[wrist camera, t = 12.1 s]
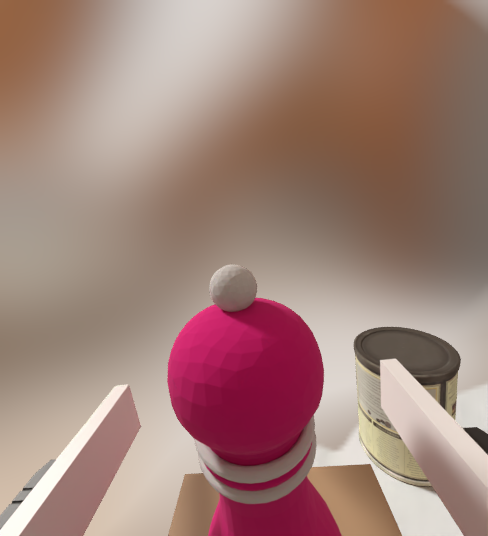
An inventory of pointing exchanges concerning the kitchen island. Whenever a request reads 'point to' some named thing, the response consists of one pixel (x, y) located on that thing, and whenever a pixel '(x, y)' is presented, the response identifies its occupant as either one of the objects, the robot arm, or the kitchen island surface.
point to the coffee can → (422, 369)
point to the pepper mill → (252, 409)
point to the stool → (326, 483)
